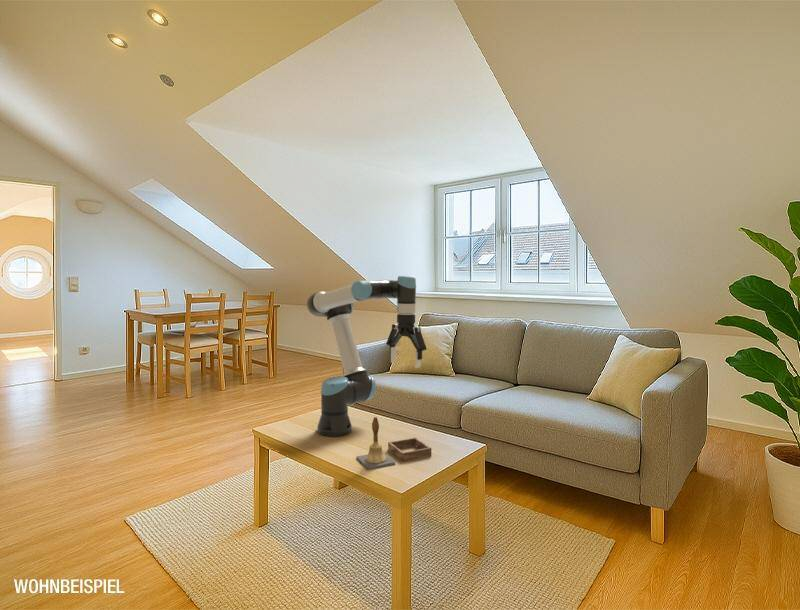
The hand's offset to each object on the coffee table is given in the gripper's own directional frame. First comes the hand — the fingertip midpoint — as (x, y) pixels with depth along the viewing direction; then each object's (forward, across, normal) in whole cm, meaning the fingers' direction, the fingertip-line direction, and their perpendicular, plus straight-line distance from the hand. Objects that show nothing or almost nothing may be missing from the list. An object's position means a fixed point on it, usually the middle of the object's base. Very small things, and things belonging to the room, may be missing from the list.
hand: (405, 364), depth 195 cm
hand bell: (+32, -6, +22) cm, 39 cm away
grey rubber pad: (+33, -6, +22) cm, 40 cm away
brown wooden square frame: (+33, -9, +7) cm, 35 cm away
